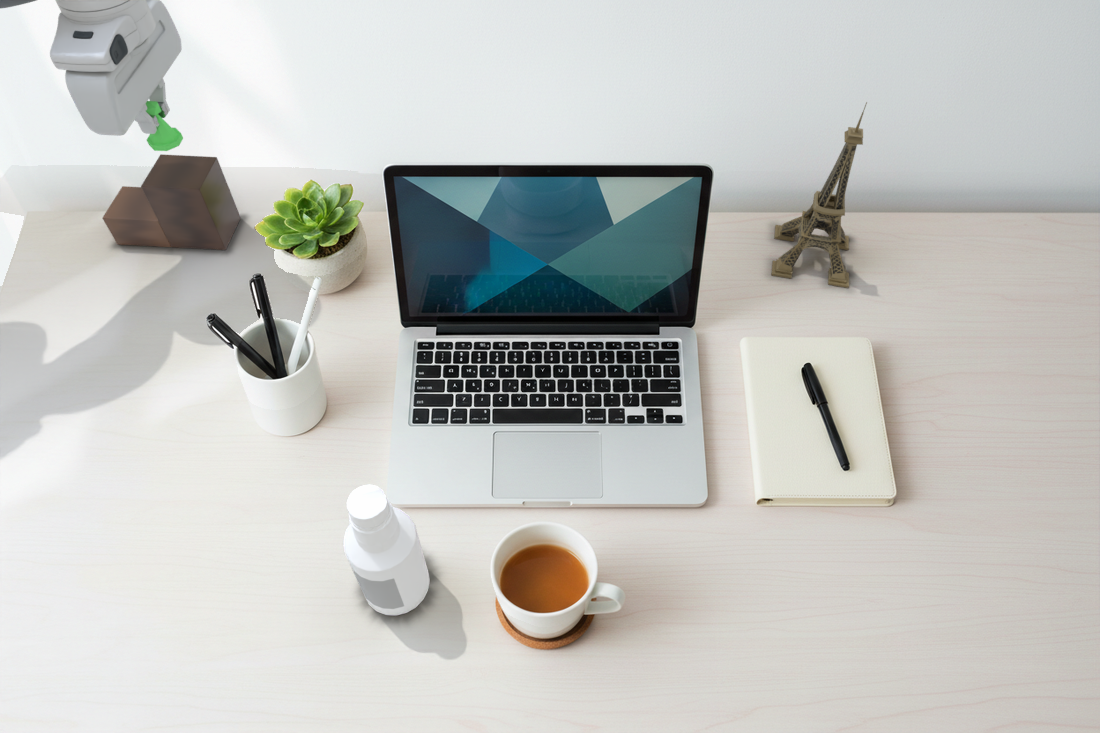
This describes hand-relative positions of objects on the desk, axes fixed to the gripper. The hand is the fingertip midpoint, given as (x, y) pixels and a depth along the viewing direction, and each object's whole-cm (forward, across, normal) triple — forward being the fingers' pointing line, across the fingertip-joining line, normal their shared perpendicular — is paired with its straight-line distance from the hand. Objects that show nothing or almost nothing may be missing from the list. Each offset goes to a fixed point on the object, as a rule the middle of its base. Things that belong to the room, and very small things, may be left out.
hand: (157, 122), depth 100 cm
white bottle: (+19, +51, +38) cm, 67 cm away
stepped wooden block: (+19, 0, -4) cm, 19 cm away
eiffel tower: (+19, -2, +88) cm, 90 cm away
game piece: (+3, 0, 0) cm, 3 cm away
